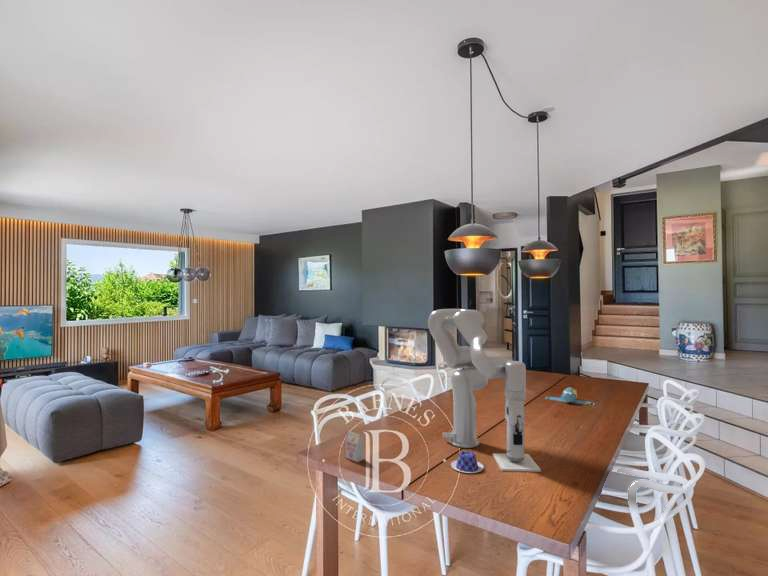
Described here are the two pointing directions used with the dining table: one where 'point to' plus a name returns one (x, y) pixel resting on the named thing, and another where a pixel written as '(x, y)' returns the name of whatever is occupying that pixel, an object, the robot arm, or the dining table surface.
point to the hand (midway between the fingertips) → (515, 440)
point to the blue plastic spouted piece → (569, 397)
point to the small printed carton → (354, 447)
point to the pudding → (467, 463)
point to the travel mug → (513, 450)
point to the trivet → (516, 463)
